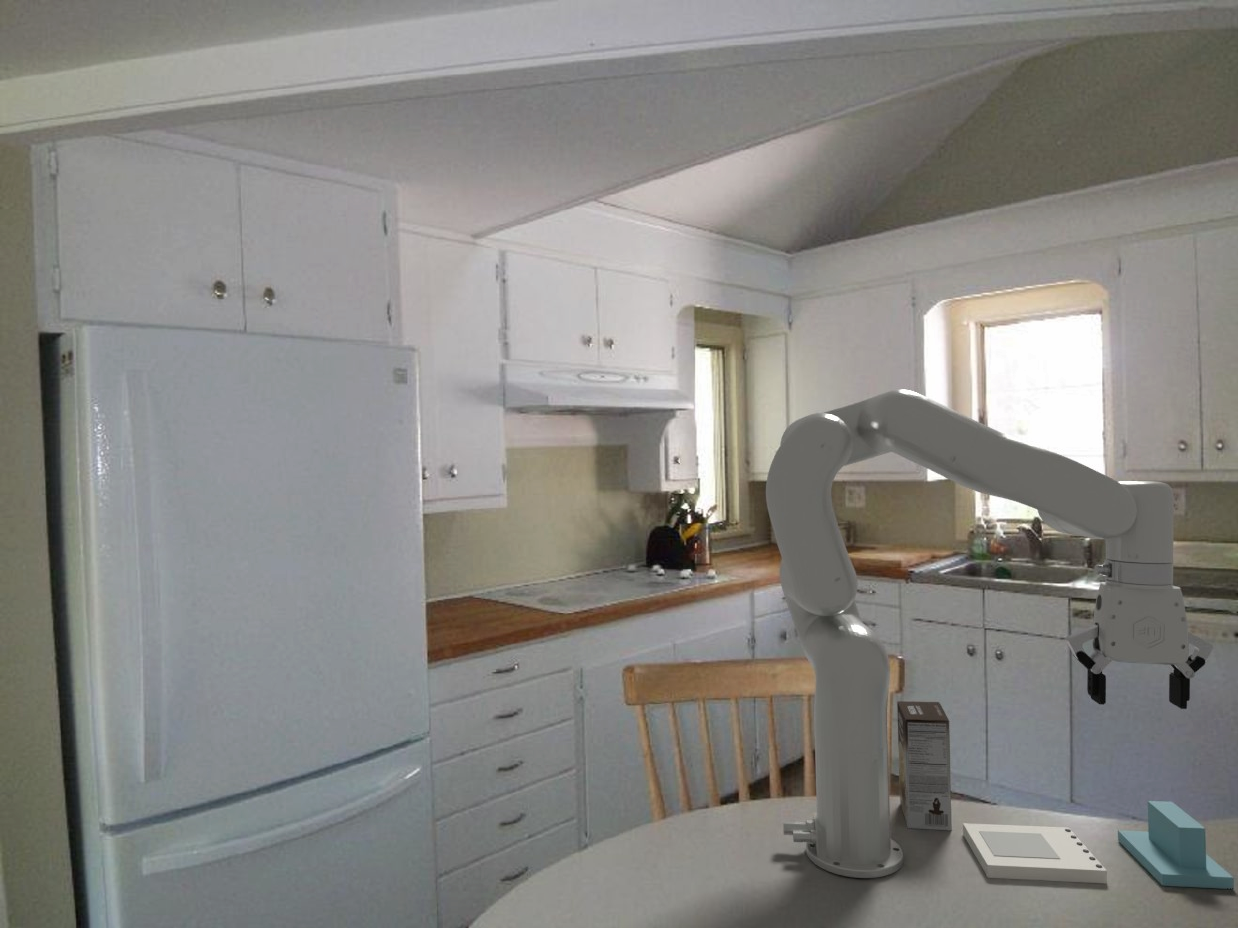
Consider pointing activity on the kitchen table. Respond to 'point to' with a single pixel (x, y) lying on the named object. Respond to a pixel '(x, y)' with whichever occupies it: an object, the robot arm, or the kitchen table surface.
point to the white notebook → (1033, 853)
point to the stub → (1175, 849)
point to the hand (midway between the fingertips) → (1137, 703)
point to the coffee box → (924, 765)
